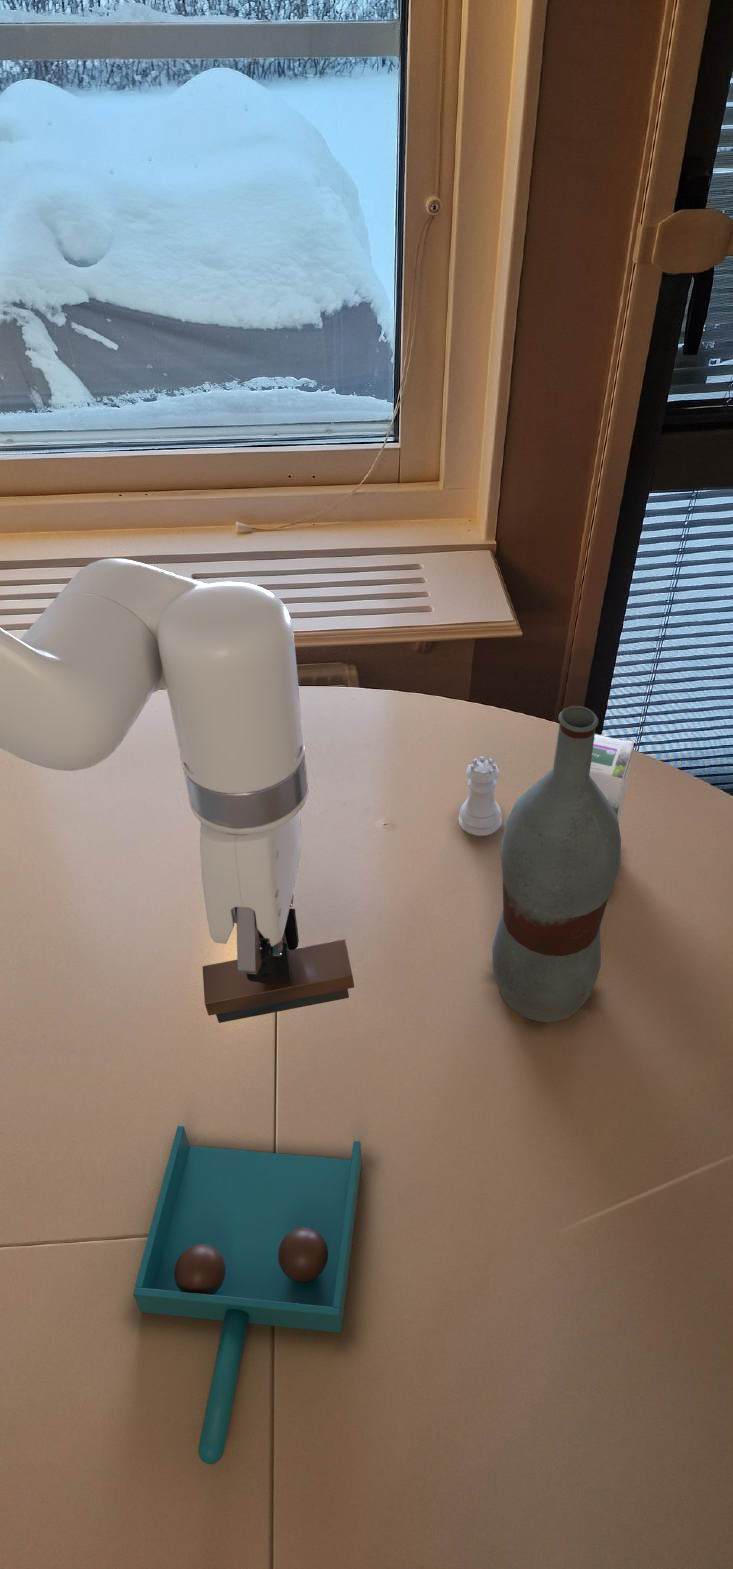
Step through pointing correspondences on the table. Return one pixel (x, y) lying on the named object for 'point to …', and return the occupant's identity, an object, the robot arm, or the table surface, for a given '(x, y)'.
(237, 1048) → the table surface
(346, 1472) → the table surface
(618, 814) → the syrup box
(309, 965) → the brush
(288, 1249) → the ball right
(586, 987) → the bottle
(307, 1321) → the dustpan
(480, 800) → the rook chess piece
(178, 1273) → the ball left
